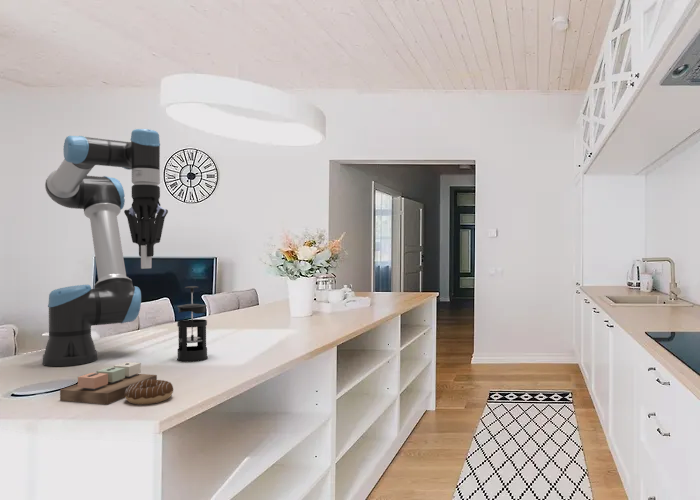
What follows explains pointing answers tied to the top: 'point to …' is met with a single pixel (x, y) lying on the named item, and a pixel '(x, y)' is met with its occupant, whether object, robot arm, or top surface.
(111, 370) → the sage key
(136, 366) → the cream key
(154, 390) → the donut
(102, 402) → the keypad
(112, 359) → the top surface
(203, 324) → the french press
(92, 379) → the terracotta key
